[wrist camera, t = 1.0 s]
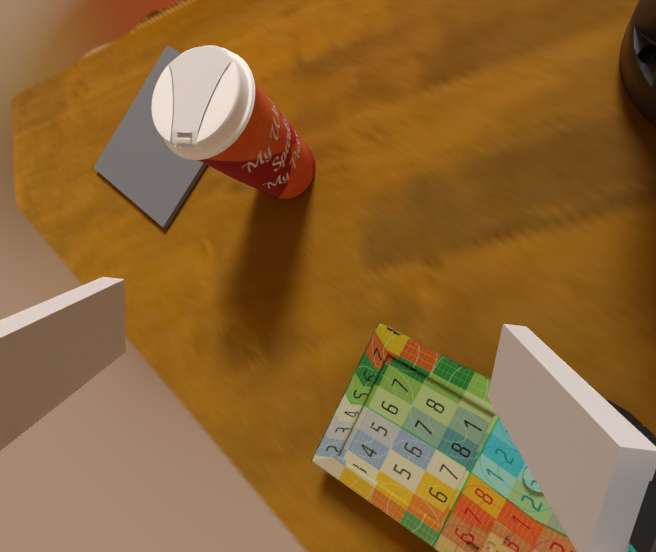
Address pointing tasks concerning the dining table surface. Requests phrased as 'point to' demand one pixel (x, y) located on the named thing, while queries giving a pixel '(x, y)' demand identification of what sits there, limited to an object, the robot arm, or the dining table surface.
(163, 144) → the mat
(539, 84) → the dining table surface
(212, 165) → the paper cup
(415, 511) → the puzzle game
